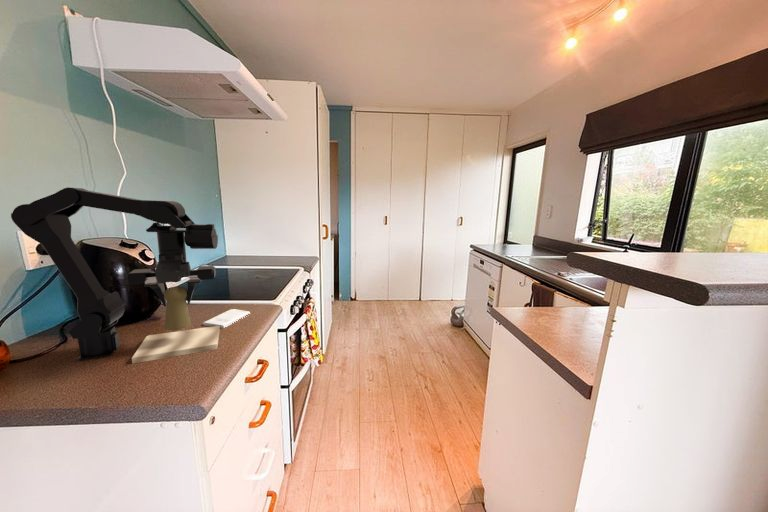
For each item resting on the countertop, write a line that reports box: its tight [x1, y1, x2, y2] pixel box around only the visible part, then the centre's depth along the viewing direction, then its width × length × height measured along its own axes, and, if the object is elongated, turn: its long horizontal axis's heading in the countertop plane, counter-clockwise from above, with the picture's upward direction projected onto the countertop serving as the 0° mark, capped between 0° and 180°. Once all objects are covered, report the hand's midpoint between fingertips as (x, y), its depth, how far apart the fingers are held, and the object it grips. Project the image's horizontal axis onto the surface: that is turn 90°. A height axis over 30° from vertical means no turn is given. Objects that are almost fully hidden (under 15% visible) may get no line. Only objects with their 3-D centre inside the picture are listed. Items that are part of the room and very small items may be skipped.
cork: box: [163, 286, 192, 331], centre depth 76 cm, size 6×6×11 cm
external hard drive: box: [202, 308, 251, 329], centre depth 96 cm, size 2×8×12 cm
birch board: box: [131, 326, 221, 364], centre depth 78 cm, size 18×13×2 cm
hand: (177, 304), depth 76 cm, fingers closed on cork, 5 cm apart
